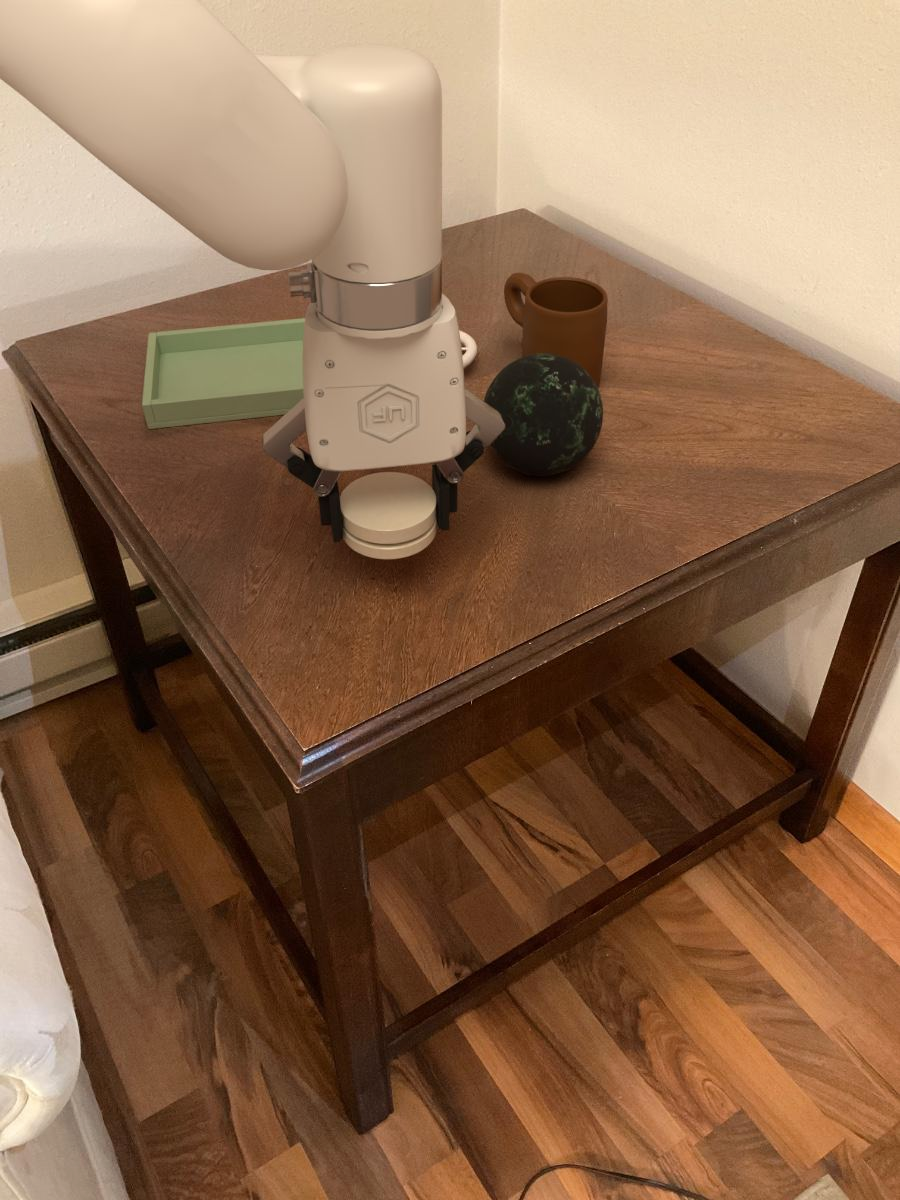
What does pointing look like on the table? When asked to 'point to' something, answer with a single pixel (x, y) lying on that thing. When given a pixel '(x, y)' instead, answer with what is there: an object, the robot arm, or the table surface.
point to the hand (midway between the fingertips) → (389, 522)
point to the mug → (560, 318)
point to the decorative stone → (545, 414)
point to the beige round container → (388, 515)
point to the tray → (223, 373)
